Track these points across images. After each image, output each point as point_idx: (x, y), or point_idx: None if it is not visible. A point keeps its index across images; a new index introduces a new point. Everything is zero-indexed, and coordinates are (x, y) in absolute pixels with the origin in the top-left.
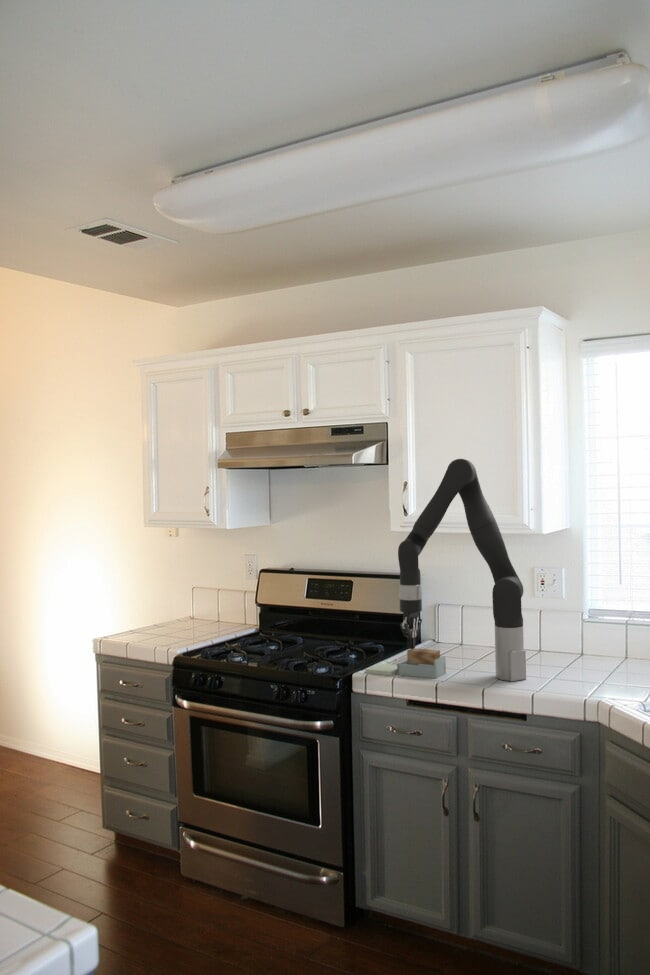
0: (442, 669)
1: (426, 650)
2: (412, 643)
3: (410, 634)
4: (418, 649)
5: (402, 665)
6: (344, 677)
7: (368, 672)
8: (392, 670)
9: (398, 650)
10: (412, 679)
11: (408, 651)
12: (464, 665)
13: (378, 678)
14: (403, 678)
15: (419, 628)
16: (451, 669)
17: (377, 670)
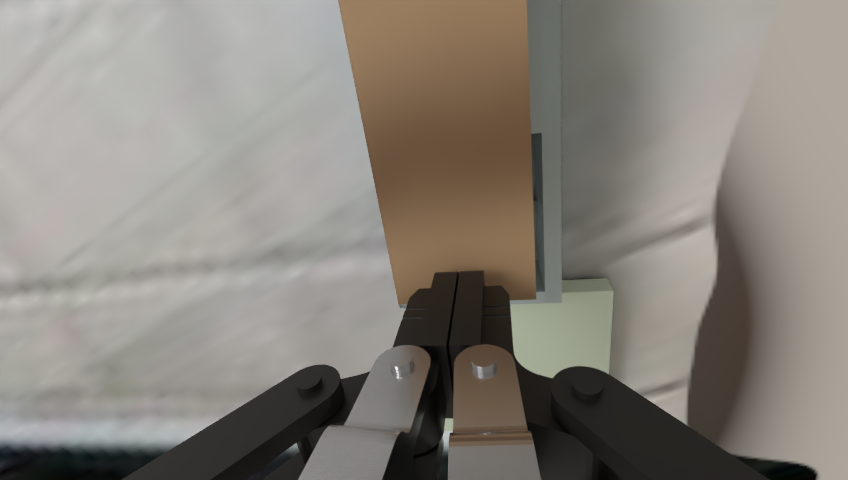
0: None
1: (423, 121)
2: (482, 308)
3: (614, 402)
4: (424, 229)
5: (559, 259)
6: (741, 457)
7: None
8: (567, 302)
9: (121, 463)
10: (642, 104)
11: (535, 282)
12: (56, 17)
13: (700, 311)
14: (637, 178)
15: (208, 433)
16: (208, 28)
17: (608, 372)
